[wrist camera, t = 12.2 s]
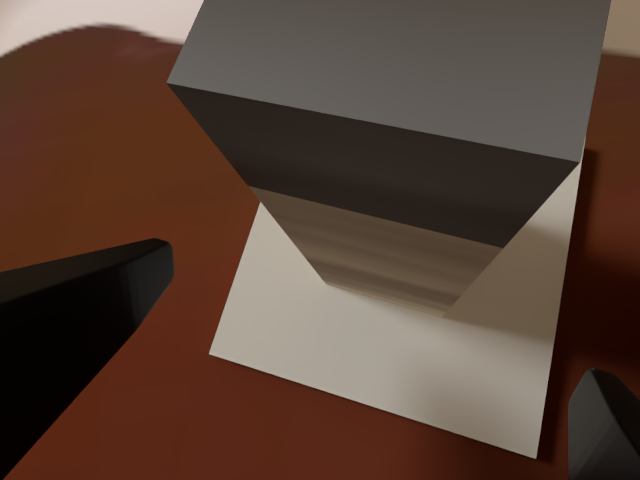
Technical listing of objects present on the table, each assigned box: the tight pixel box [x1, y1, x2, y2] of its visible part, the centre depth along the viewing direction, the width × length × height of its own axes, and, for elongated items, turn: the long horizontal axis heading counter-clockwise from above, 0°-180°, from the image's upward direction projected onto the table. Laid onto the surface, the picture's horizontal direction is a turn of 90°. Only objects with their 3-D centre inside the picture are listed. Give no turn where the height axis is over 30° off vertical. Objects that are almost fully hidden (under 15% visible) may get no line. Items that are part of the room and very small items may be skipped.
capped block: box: [167, 0, 611, 318], centre depth 11 cm, size 4×4×12 cm
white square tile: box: [209, 136, 586, 459], centre depth 17 cm, size 12×12×1 cm
